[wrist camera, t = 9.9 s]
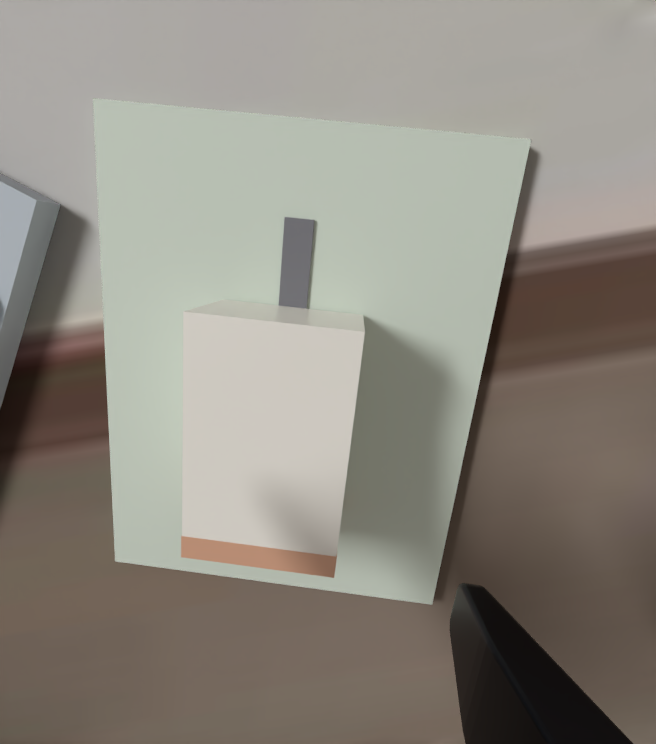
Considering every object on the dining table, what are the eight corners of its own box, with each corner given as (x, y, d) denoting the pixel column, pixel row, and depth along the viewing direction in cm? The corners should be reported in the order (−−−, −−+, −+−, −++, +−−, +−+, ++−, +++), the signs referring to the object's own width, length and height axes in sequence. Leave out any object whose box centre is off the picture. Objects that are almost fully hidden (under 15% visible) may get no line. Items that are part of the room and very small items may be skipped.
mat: (430, 595, 18) (432, 606, 18) (121, 553, 19) (114, 562, 18) (525, 143, 13) (532, 138, 13) (101, 103, 14) (90, 96, 13)
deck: (363, 314, 14) (365, 332, 11) (338, 512, 17) (334, 577, 13) (222, 299, 15) (182, 311, 11) (216, 496, 17) (181, 557, 13)
